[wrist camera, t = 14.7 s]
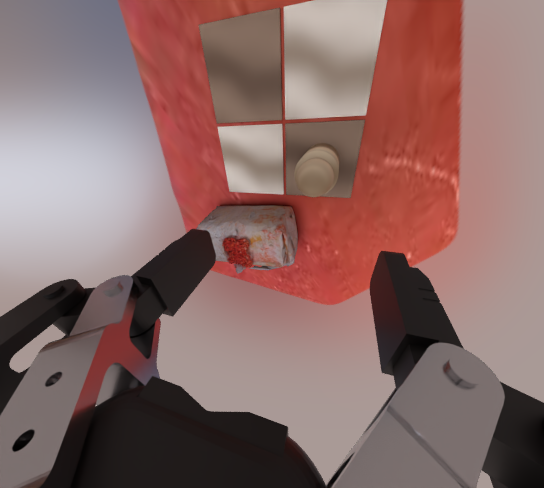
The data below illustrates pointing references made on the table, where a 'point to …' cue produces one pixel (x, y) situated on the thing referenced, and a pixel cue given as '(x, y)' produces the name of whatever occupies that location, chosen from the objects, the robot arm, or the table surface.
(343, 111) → the game mat
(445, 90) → the table surface
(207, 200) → the table surface
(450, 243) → the table surface
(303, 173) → the pawn
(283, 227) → the food item
